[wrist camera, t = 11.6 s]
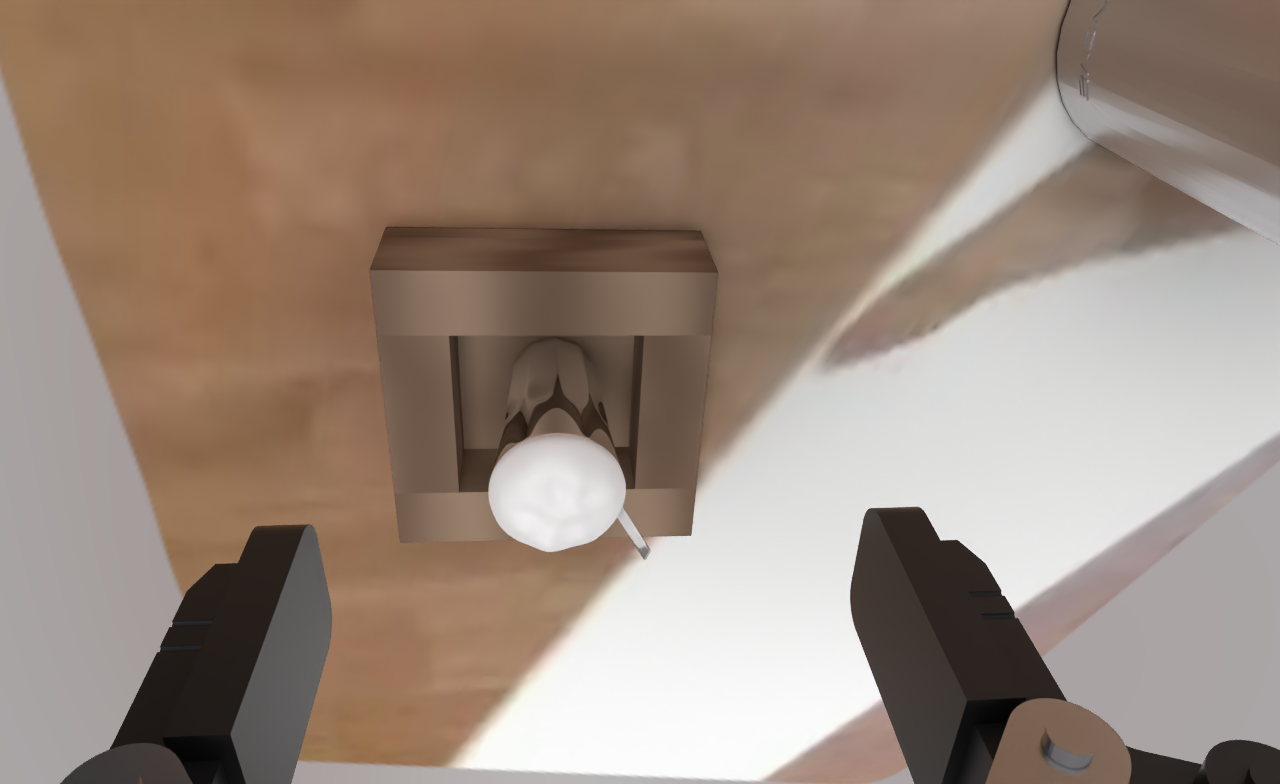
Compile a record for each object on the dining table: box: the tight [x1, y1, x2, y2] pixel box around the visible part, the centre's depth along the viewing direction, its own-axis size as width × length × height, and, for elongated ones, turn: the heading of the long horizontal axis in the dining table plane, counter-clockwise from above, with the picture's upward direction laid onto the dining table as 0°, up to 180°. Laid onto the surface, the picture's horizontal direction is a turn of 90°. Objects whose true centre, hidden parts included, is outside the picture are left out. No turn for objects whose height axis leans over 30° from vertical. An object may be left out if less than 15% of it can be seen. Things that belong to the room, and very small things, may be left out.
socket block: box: [370, 227, 718, 543], centre depth 36 cm, size 12×12×4 cm
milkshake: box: [488, 338, 650, 560], centre depth 33 cm, size 4×5×10 cm
